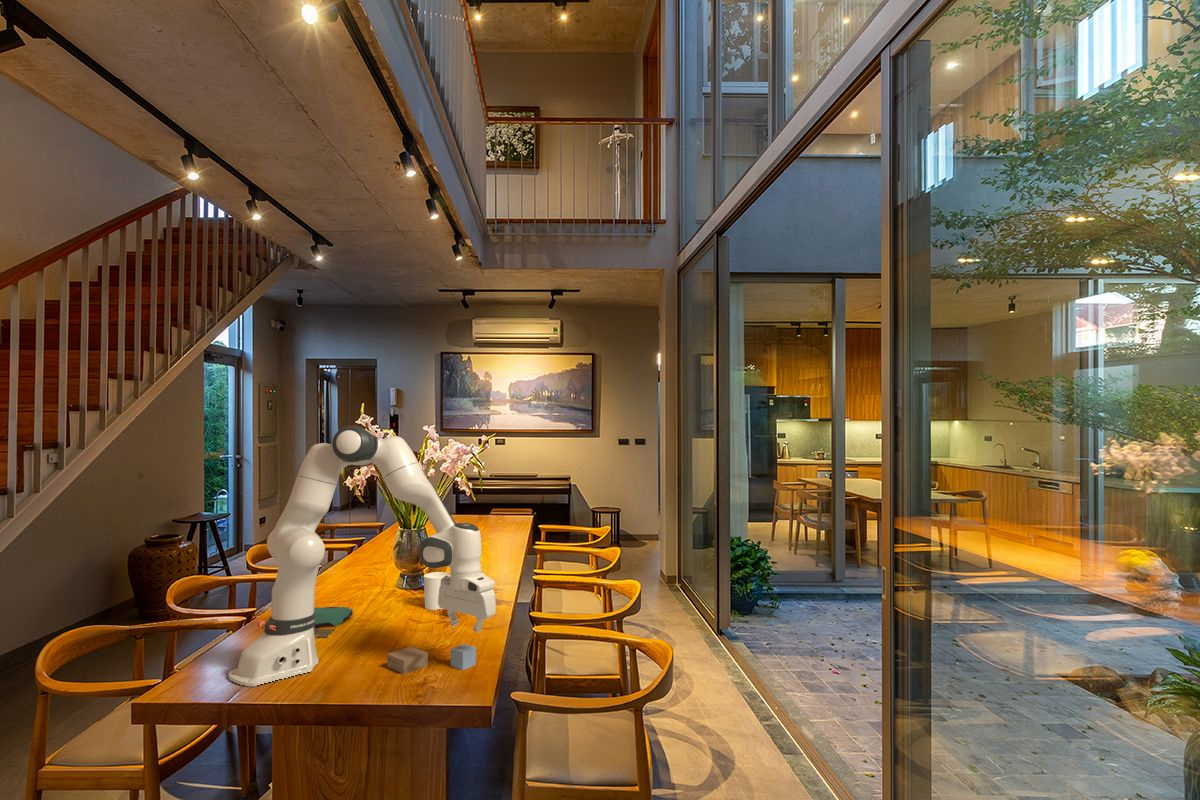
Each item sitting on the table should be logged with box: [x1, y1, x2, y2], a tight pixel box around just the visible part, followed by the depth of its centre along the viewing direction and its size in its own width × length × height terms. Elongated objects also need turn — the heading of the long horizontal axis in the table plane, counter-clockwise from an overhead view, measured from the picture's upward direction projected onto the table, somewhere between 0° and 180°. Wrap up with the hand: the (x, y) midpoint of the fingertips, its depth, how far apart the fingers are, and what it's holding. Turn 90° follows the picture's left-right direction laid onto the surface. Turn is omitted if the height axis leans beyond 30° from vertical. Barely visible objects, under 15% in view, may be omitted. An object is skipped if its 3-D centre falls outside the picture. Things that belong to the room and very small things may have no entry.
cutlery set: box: [314, 606, 354, 638], centre depth 214 cm, size 20×30×2 cm, turn 6°
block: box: [450, 643, 477, 671], centre depth 179 cm, size 5×5×5 cm
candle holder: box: [423, 571, 450, 611], centre depth 236 cm, size 10×10×12 cm
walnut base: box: [386, 646, 429, 675], centre depth 178 cm, size 8×8×4 cm
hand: (465, 628), depth 180 cm, fingers open, 8 cm apart
